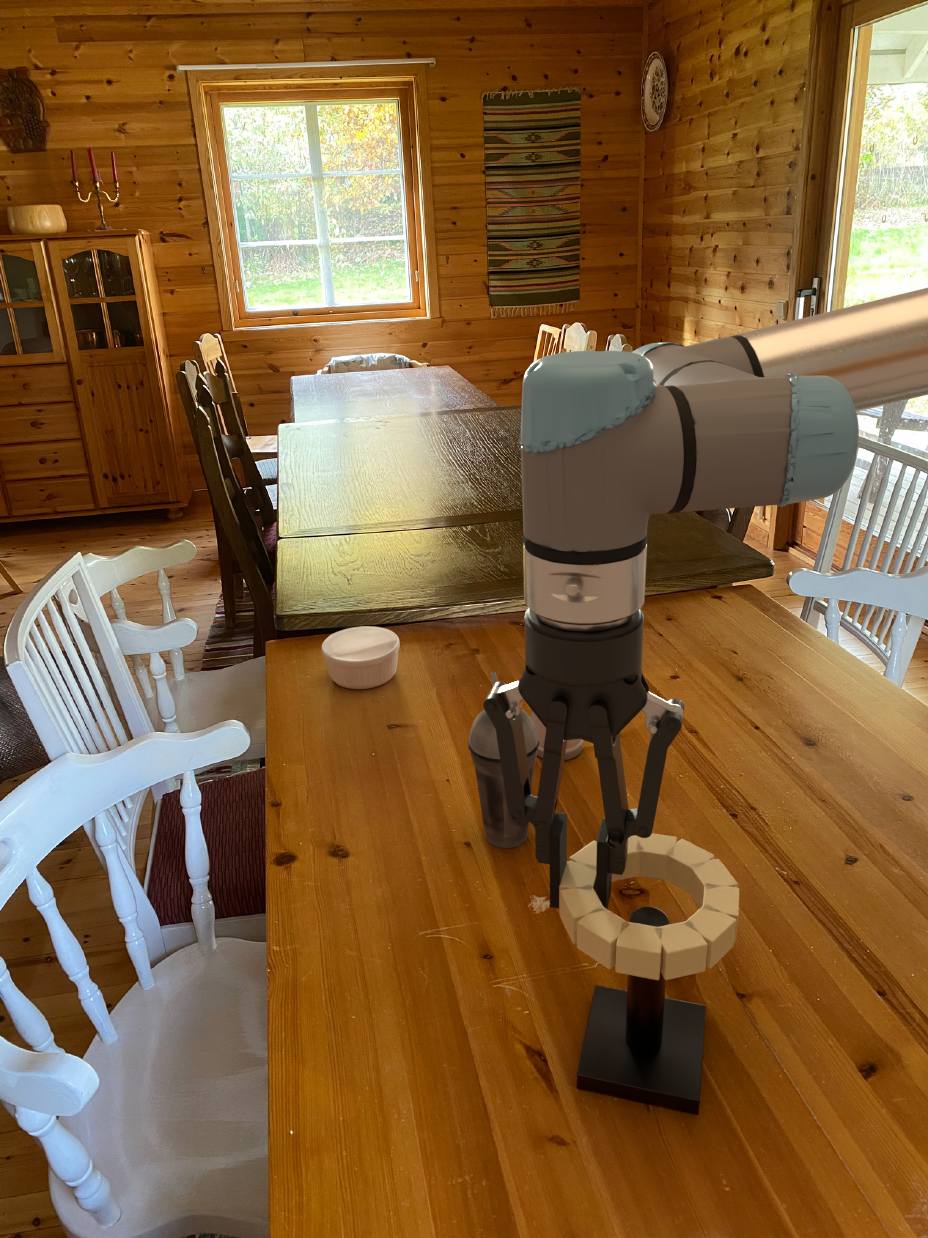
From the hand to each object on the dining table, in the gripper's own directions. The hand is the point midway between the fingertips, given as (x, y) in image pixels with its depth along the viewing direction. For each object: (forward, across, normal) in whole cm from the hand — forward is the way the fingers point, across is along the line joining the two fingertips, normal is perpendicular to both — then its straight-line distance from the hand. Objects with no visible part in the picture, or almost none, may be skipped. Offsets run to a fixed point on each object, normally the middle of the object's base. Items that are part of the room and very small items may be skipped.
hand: (580, 898), depth 67 cm
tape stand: (+14, +5, 0) cm, 15 cm away
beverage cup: (+15, -12, +24) cm, 31 cm away
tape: (0, +5, 0) cm, 5 cm away
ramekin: (+15, -41, +55) cm, 70 cm away
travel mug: (+15, -10, +42) cm, 46 cm away
